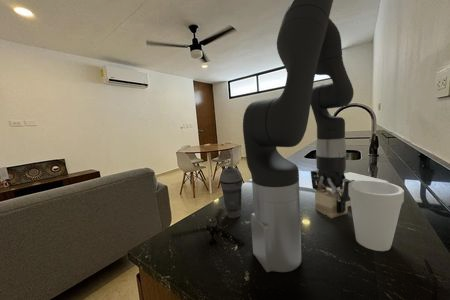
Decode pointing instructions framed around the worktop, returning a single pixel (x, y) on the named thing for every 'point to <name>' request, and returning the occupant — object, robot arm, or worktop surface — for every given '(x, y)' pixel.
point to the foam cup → (375, 212)
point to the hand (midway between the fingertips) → (330, 207)
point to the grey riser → (357, 177)
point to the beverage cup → (231, 190)
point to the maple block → (327, 203)
